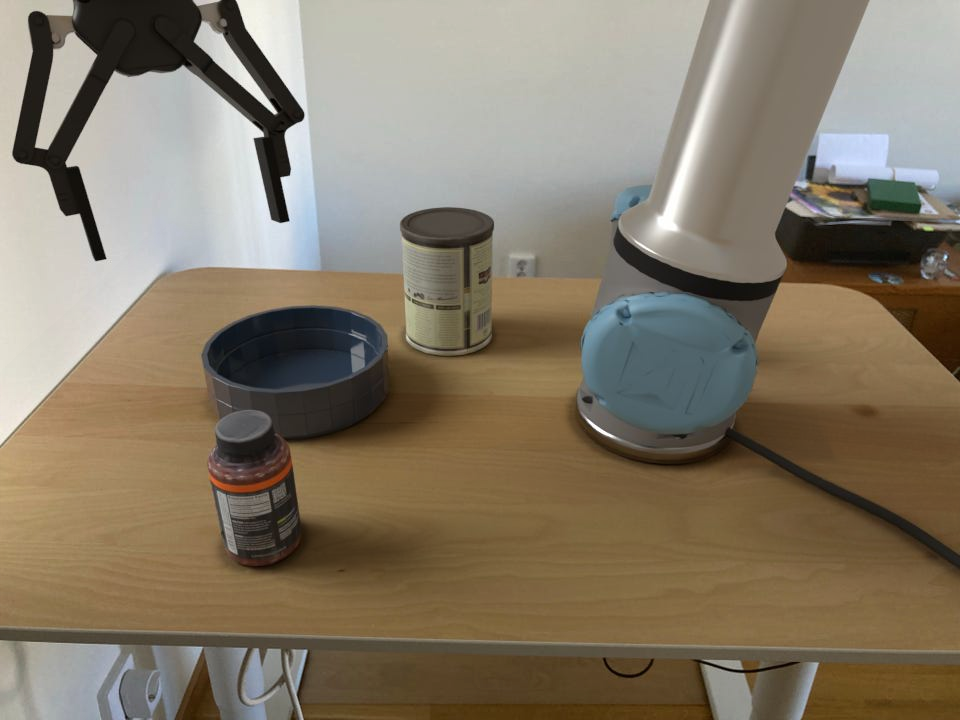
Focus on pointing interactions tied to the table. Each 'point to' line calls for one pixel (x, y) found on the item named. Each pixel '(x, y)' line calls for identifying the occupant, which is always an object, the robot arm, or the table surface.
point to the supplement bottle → (254, 489)
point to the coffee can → (447, 280)
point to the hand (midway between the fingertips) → (194, 238)
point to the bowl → (299, 368)
